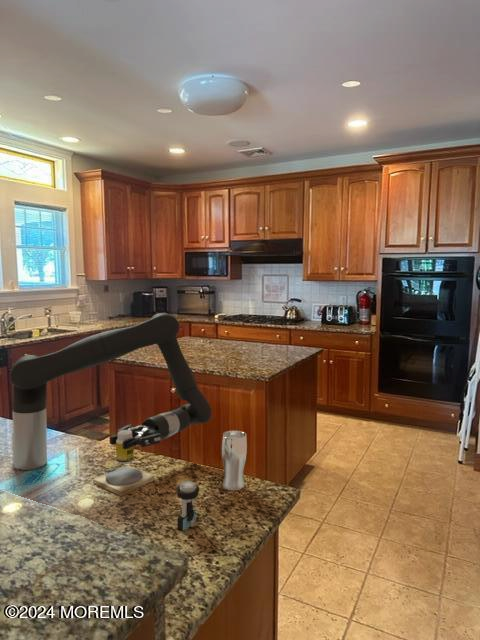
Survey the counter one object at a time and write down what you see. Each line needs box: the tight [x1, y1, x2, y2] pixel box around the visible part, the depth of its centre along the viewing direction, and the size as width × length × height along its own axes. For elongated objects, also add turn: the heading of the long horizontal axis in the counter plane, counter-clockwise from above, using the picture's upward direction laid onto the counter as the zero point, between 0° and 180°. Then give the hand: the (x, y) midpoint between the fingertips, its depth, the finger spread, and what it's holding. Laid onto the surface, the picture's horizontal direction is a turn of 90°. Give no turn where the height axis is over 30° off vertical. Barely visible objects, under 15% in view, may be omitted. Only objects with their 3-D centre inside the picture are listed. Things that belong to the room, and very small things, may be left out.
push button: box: [176, 480, 200, 531], centre depth 104 cm, size 7×5×10 cm
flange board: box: [92, 464, 156, 497], centre depth 125 cm, size 12×12×2 cm
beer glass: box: [221, 430, 248, 492], centre depth 123 cm, size 7×7×15 cm
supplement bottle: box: [115, 430, 135, 465], centre depth 124 cm, size 5×5×8 cm
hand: (117, 443), depth 122 cm, fingers closed on supplement bottle, 4 cm apart
